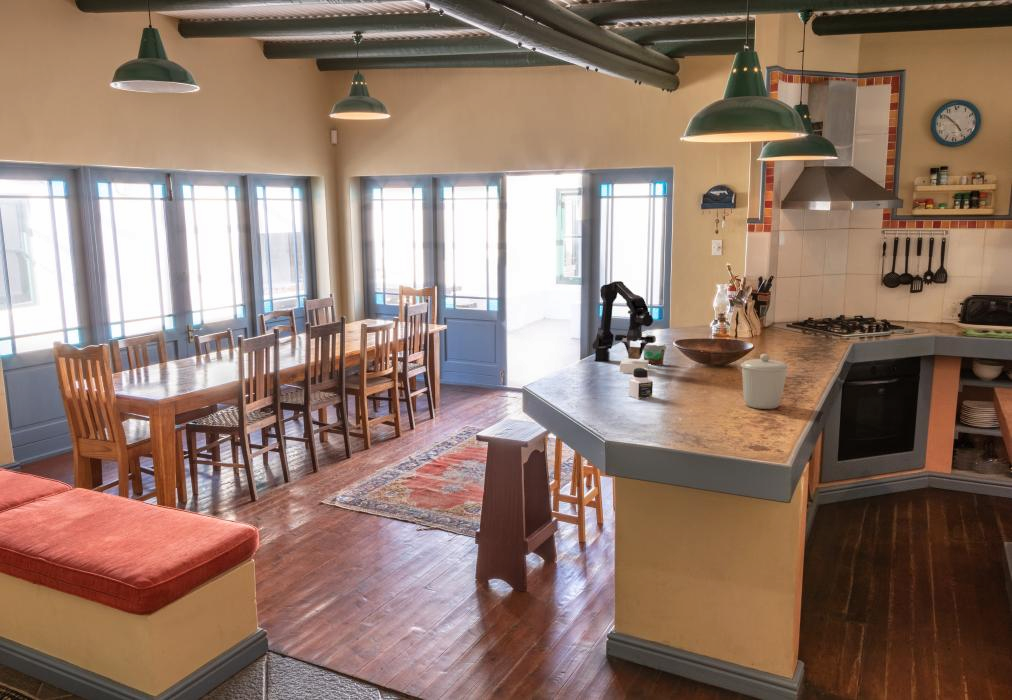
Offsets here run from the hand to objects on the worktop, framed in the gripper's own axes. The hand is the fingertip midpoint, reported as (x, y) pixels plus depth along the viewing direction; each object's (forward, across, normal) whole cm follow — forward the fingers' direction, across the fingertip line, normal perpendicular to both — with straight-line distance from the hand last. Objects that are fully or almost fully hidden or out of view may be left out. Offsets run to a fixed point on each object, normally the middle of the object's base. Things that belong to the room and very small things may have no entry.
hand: (634, 356), depth 381 cm
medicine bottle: (+8, +15, -52) cm, 55 cm away
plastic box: (+8, 0, 0) cm, 8 cm away
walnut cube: (+1, 0, 0) cm, 1 cm away
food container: (+8, +4, +21) cm, 23 cm away
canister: (+8, +63, -49) cm, 80 cm away
